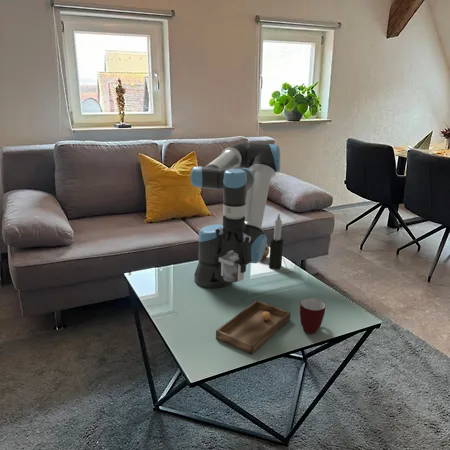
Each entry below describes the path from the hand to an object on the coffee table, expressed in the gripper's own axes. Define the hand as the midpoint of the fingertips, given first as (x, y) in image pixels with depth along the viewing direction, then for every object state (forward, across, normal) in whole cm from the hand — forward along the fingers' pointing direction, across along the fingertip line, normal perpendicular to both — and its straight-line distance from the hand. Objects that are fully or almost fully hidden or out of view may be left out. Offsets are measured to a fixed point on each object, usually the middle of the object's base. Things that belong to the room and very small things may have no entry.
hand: (232, 277), depth 147 cm
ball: (+9, +14, +1) cm, 17 cm away
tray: (+12, +14, -7) cm, 20 cm away
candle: (+14, -5, +42) cm, 44 cm away
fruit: (+14, -15, +46) cm, 50 cm away
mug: (+13, +29, +5) cm, 32 cm away
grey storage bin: (0, 0, 0) cm, 0 cm away
